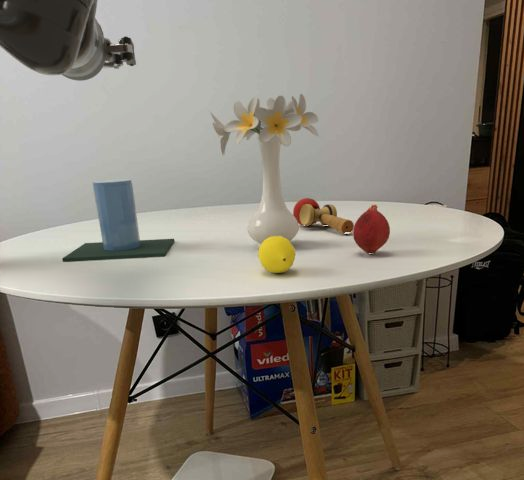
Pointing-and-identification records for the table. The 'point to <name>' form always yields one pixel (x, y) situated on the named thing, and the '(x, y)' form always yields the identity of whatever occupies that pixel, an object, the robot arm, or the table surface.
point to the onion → (371, 230)
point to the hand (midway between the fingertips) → (85, 61)
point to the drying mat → (98, 253)
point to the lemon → (276, 254)
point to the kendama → (320, 215)
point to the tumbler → (117, 214)
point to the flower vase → (269, 157)
